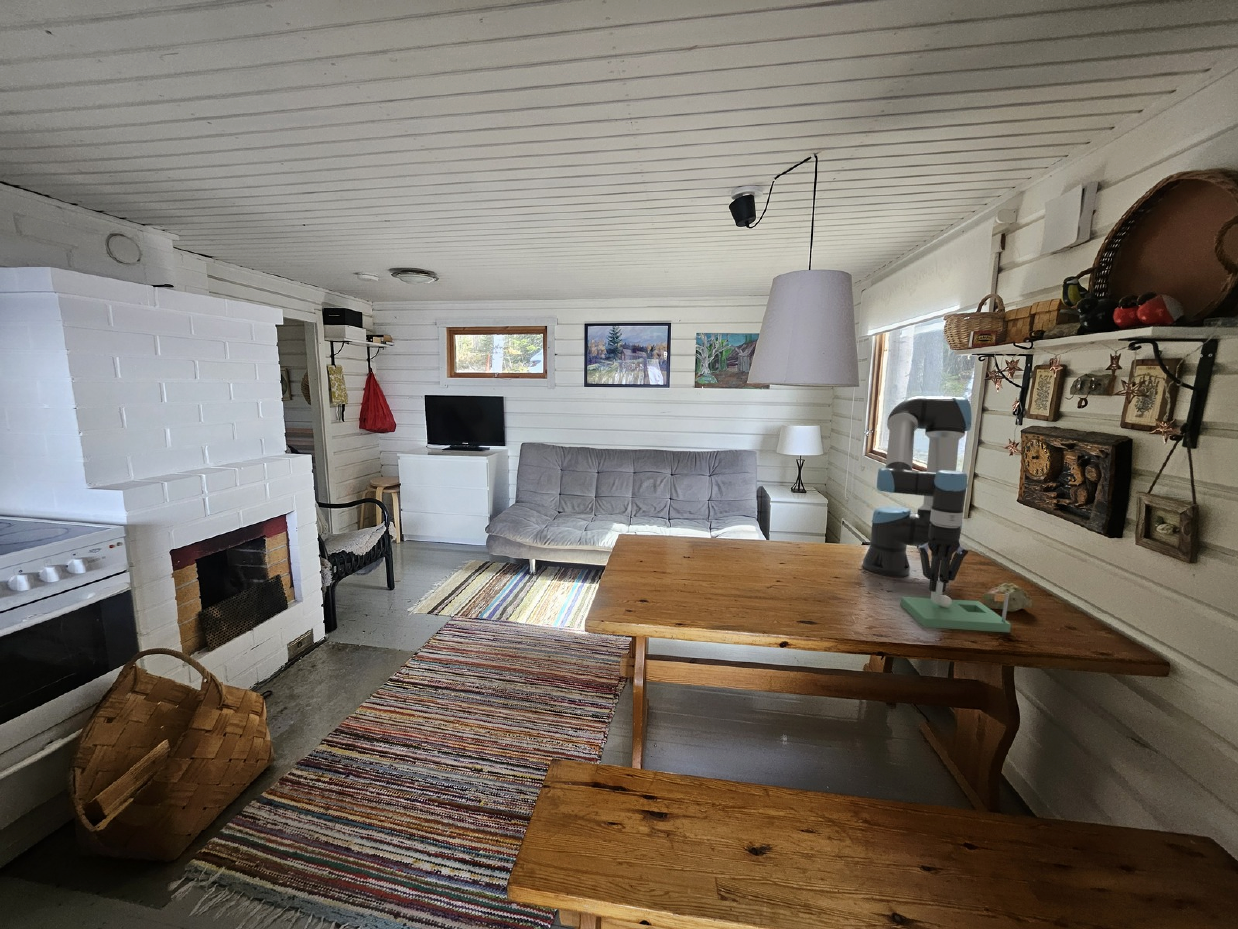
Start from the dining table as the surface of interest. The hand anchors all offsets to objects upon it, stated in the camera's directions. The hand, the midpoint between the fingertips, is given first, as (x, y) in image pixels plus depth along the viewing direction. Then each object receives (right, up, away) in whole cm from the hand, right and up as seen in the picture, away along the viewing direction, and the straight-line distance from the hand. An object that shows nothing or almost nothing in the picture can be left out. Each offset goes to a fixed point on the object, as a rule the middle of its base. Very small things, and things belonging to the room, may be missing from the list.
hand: (935, 601), depth 137 cm
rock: (+25, -3, +6) cm, 26 cm away
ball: (+2, 0, 0) cm, 2 cm away
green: (+4, -4, -1) cm, 6 cm away
